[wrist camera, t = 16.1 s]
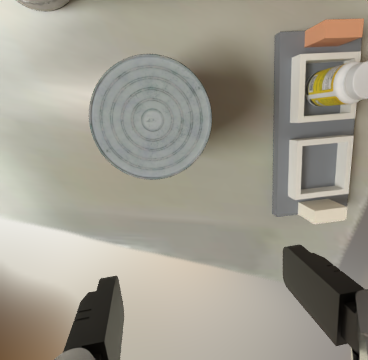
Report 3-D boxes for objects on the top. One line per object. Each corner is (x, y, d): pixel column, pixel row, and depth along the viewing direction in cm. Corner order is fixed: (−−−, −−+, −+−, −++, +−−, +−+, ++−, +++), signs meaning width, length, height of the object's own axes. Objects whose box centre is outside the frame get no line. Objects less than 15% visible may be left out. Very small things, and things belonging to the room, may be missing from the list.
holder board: (274, 35, 35) (298, 20, 30) (354, 32, 36) (389, 18, 31) (272, 213, 41) (291, 227, 36) (340, 204, 43) (367, 217, 37)
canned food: (153, 176, 37) (157, 202, 25) (90, 121, 34) (61, 122, 22) (206, 118, 36) (235, 117, 25) (146, 57, 33) (147, 23, 22)
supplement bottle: (338, 96, 37) (393, 90, 29) (310, 112, 37) (357, 110, 28) (327, 64, 35) (382, 48, 27) (298, 81, 35) (344, 69, 27)
